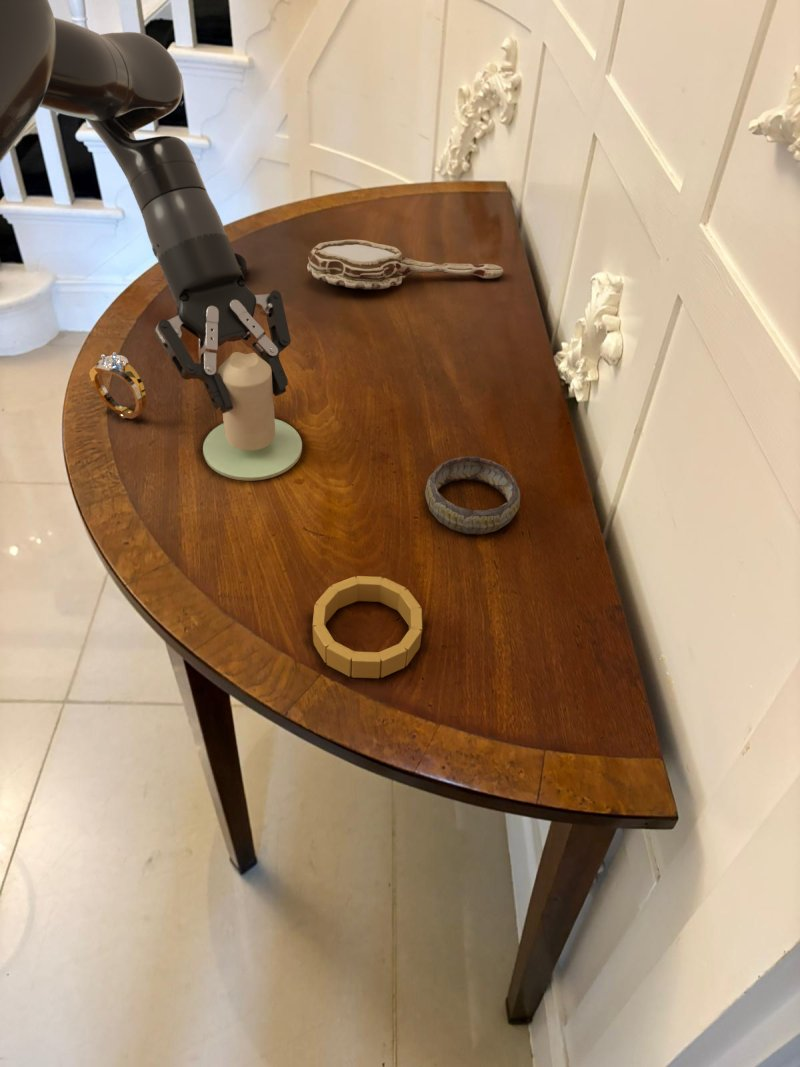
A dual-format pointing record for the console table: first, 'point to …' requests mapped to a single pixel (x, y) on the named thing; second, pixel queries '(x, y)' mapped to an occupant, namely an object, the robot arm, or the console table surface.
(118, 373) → the ring
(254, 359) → the candle
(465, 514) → the decorative ring
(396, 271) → the hand mirror
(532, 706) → the console table surface
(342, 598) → the segmented bracelet
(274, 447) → the coaster
